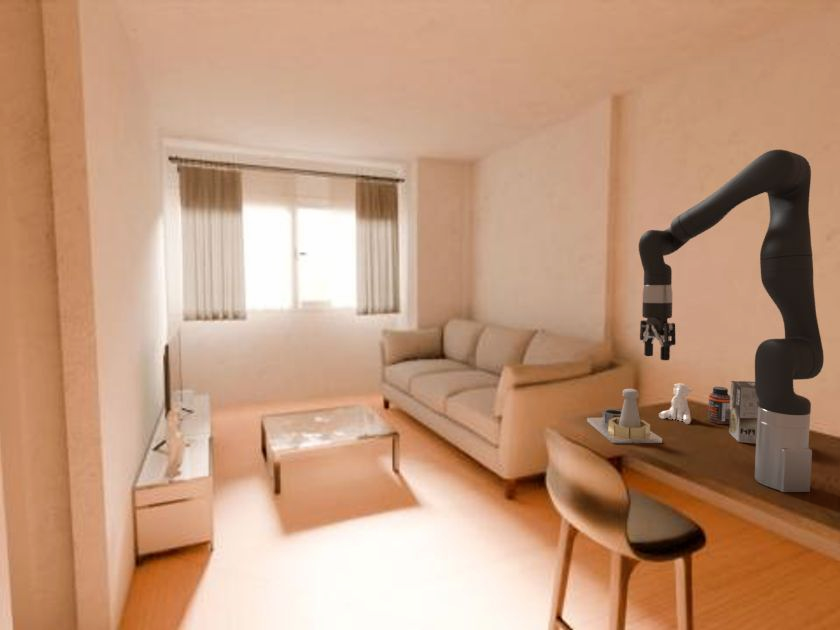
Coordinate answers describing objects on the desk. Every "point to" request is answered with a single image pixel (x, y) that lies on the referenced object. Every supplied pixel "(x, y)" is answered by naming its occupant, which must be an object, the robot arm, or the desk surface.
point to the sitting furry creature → (678, 405)
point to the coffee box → (743, 411)
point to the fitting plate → (620, 439)
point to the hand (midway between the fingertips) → (656, 357)
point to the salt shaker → (630, 409)
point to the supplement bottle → (719, 406)
